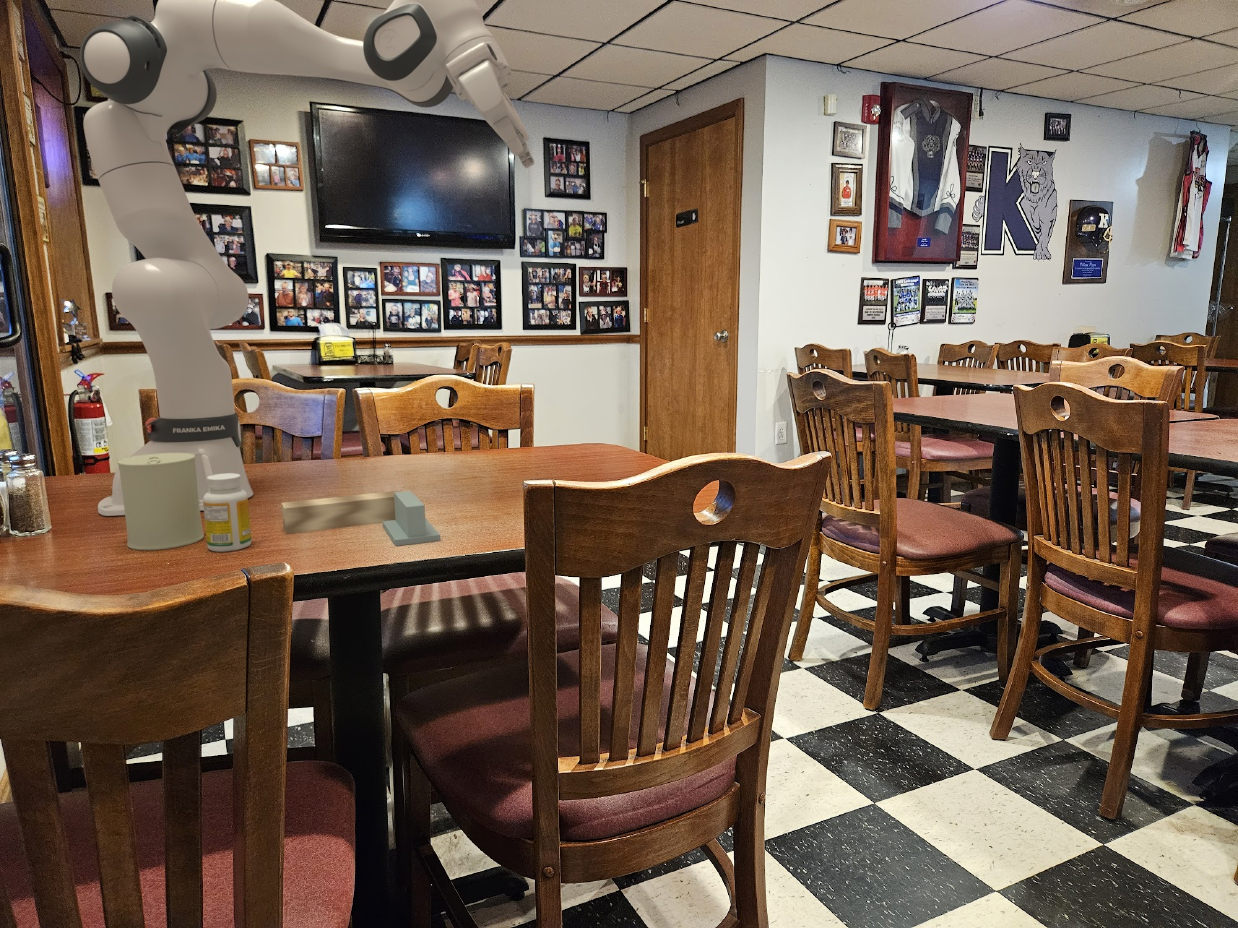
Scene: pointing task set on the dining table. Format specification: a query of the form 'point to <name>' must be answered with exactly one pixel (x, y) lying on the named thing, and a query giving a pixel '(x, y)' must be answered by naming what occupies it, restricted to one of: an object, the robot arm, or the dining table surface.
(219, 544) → the supplement bottle
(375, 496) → the plank
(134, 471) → the can
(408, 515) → the ridge
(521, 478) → the dining table surface
